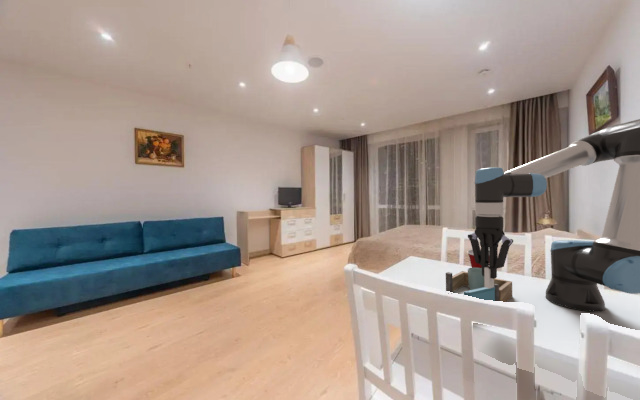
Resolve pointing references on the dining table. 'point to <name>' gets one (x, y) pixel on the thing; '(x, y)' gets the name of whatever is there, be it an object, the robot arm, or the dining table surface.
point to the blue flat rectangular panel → (482, 293)
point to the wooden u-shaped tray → (459, 280)
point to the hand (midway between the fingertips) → (489, 287)
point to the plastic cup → (473, 260)
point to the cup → (475, 278)
